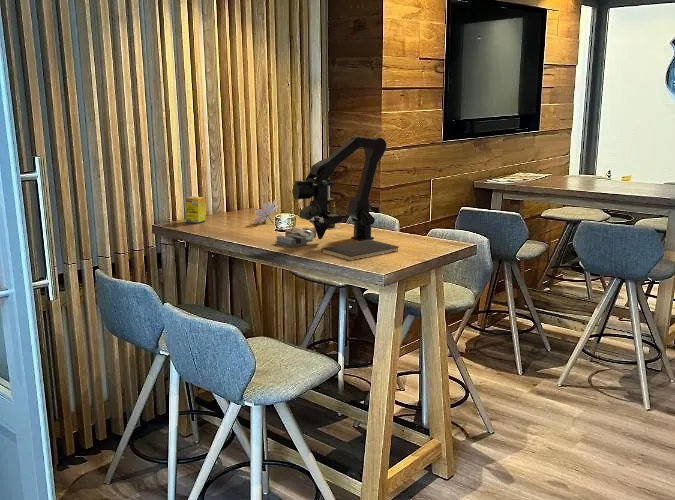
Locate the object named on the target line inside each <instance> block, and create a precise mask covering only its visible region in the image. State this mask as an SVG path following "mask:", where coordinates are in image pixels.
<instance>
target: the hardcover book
mask: <svg viewBox="0 0 675 500" xmlns="http://www.w3.org/2000/svg"><path fill="white" fill-rule="evenodd" d="M399 248H400V246H399V245H393V244H389V243H386V242H382V241H378V240H373V239H368V240H363V241H362V240H358V241H353V242H349V243H343V244H338V245H332V246H326V247H322V248H321V253H324V254H327V255H331V256H333V255H334V257H337V256H338V257H337V258H340V257H342V258H341V259H344V258H345V259H344V260H347V259H348V260H347V261H351V260H352V261H355V260H354V259H357V260H360V259H359V258H362V259H365V258H364V257H367V258H369V257H368V256H372V257H374V256H373V255H377V256H379V255H378V254H382V253H387V254H389V253H388V252H392V251H397V252H399ZM392 253H393V252H392ZM382 255H383V254H382Z"/></svg>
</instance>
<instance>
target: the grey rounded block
mask: <svg viewBox="0 0 675 500" xmlns="http://www.w3.org/2000/svg"><path fill="white" fill-rule="evenodd" d="M302 229H304V230H308V231H312V232H313V233H314V238H317V233H316V230H315V228H310V227H308V226H307V227H302ZM287 234H293V235H297V236H299V232H295V231H292V230H291V229H288V230H286V229H285V231H284V235H285V237H287Z"/></svg>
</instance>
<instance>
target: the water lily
mask: <svg viewBox="0 0 675 500" xmlns="http://www.w3.org/2000/svg"><path fill="white" fill-rule="evenodd" d="M276 201H277V198H274V200H273V201H272V202H270V201H268V202H267V203H265V202H262V209H255V212H254V214H255V216H257V218H254V219H253V222H252V224H253V225H255V224H258V223H260V222H262V221H264V222H266V221H268V220H269V221H270V222H271V224H273V225H275V223H274V221H273V220H272V218H271V215H272V214H273V213H274V212H276V211H277V209H278V207H279V205H276ZM275 205H276V206H275Z"/></svg>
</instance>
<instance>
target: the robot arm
mask: <svg viewBox="0 0 675 500" xmlns="http://www.w3.org/2000/svg"><path fill="white" fill-rule="evenodd" d="M387 145H388V143H387V142H386V140H385V139H384V138H383V137H382V138H381V137H373V136H370V137H368V138H367V137H362V136H357V135H353V136H351V137H350V139H349V140H348V141H346V142H345V143H344V144H343V145H341V146H340V147H339V148H338V149H337V150H335V151H334V152H333V153H332V154H331V155H329V156H328V157H326V158H324V159H321V160H319V161H318V162H316V163H314V164H313V165H311V167H310V172H309V173H308V175H307V176H306V178H305V179H304V180H295V181H294V185H293V186H292V197H293V199H294V200H296V201H297V200H308V199H309V200H310V201H309V205H307V206H305V207H303V208H301V209H300V210H299V212H298V214H299V218H300V219H302V220H306V221H308V222H309V223H310V224H312V225H313V227H314V229H315V230H316V237H317V238H318V240H322V239H323V238H324V236H325V234H326V231H327V230H328V229H327V228H328V226H329V224H335V225H336V224H342V223H343V217H342V215H341V214H336V213H335V214H331V215H328V214H330V211H328V204H329V203H330V201H329V200H328V198H329V187H330V186H331V187H332V186H334V183H333V181H331V180H330V178H331V176H332V175H333V174H334V173H335V171H336V169H337V167H338V166H339V165H340V164H341V163H343V162H344V161H345V160H347V158H348V157H350V156H351V155H352V154H354V152H356V151H357V150H358V149H360V148H362V149H363V151H364V152H363V153H364V156H365V157H364V158H365V160H364V164H363V169H362V172H361V175H360V176H361V177H360V180H359V184H358V187H357V193H356V195H355V196H354V198H349V201H348V206H347V214H348V216H349V217H350V219H351V221H352V222H354V224H353V236H351V239H354V240H358V241H364V240H373V239H375V236H372V225H374V224H375V220H376V219H375V217H374V216H373V215H372V214H371V213H370V210H371V209H370V208H371V206H370V194H371V191H372V186H373V182H374V179H375V176H376V172H377V171H376V170H377V167H378V163H379V162H380V160H381V159H382V157H383V156H384V154H385V152H386V149H387ZM311 199H312V200H311Z"/></svg>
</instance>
